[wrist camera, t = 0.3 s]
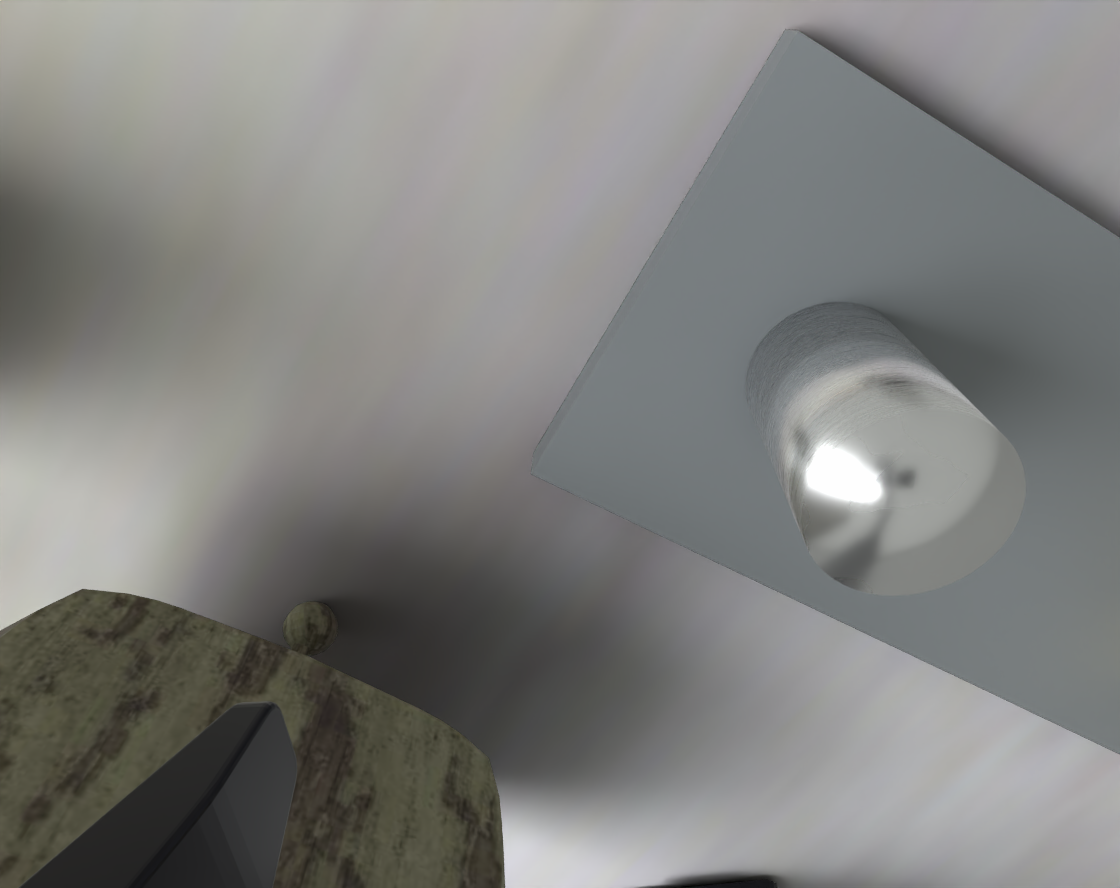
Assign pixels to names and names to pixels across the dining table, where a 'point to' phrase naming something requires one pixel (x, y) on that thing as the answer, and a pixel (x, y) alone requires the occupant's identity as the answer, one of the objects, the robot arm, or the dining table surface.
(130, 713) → the tabletop clock
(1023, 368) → the fit board
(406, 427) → the dining table surface
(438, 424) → the dining table surface
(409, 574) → the dining table surface
